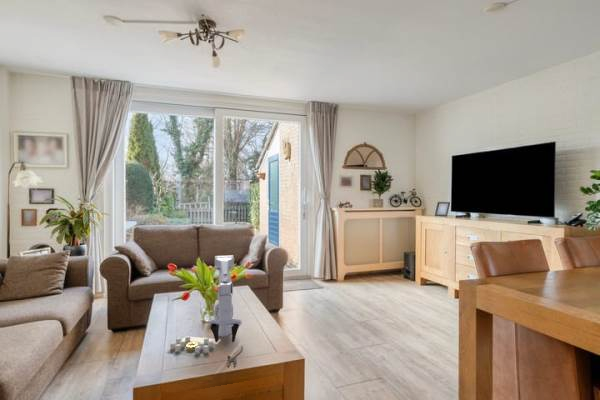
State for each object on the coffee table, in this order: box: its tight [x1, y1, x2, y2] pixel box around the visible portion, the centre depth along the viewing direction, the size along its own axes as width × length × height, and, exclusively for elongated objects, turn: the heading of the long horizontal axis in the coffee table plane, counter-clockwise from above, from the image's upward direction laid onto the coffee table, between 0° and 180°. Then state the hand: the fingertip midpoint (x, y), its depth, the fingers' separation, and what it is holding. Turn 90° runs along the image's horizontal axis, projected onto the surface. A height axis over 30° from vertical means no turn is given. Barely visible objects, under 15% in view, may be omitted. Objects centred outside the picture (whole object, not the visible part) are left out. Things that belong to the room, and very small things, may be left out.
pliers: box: [226, 345, 244, 368], centre depth 153 cm, size 10×1×20 cm
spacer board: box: [166, 335, 222, 358], centre depth 159 cm, size 18×20×4 cm
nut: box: [187, 342, 198, 351], centre depth 156 cm, size 6×5×2 cm
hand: (225, 341), depth 145 cm, fingers open, 7 cm apart
